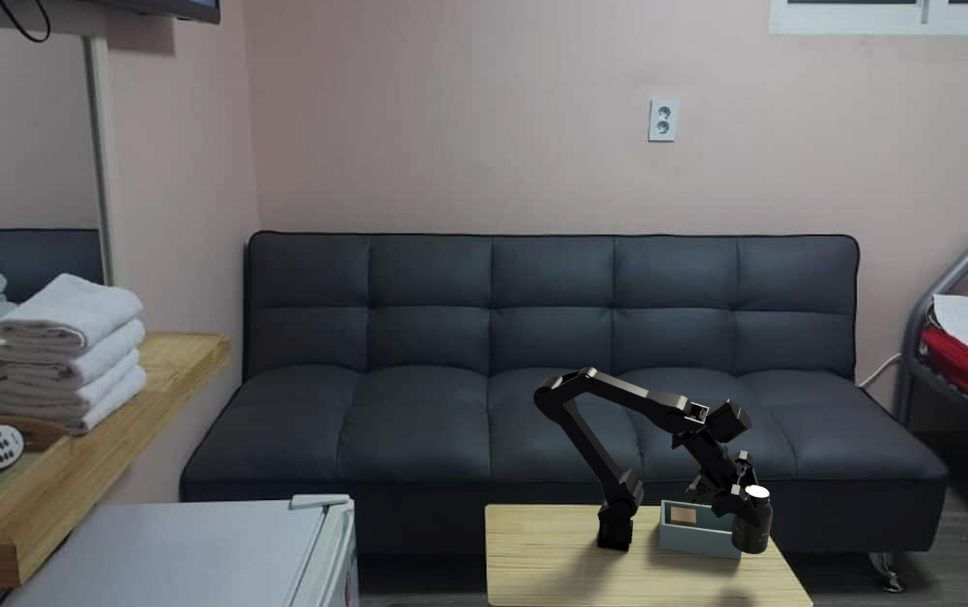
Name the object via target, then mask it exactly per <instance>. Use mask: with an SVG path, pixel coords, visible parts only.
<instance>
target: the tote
mask: <svg viewBox="0 0 968 607" xmlns="http://www.w3.org/2000/svg"><path fill="white" fill-rule="evenodd" d="M660 503H661V504H660V513H659V523H658V524H659V525H658V526H659V527H658V531H659V532H658V533H659V534H658V538H659V539H658V540H659V544H658V546H659V547H658V548H659V549H660V548H662V549H663V550H667V549H668V550H667V551H675V552H676V551H677V552H683V553H684V552H685V553H691V554H699V555H706V556H714V557H720V558H721V557H722V558H726V559H727V558H729V559H733V560H735V559H736V560H742V554H743V552H741V551H739V550H738V549H736V548H735V547H734V546H733V544H732V542H731V534H732V527H733V521H734V514H733V513H727V514H726V515H724V516H722V517H720V518H717V517H716V516H715V514H714V513H713V512H712V511H711V506H712V505H706V504H702V505H699V504H691V503H690V502H682V501H673V500H666V499H661V502H660ZM671 507H678V508H686V509H693V510H695V512H696V528H694V527H686V526H679V525H671V524H669V522H670V513H671Z"/></svg>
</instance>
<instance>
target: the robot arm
mask: <svg viewBox="0 0 968 607" xmlns="http://www.w3.org/2000/svg"><path fill="white" fill-rule="evenodd" d="M585 393H587V394H590V395H593V396H596V397H598V398H601V399H604V400H605V401H608V402H611V403H614V404H616V405H619V406H621V407H623V408H626V409H629V410H631V411H633V412H636V413H638V414H641V415H643V416H644V417H645V418H646V419H647V420H649V421H650V422H651V424H652V425H654V426H656V428H659V429H660V430H662V431H664V432H665V433H668V434H671V446H670V449H671V450H675V449H677V448H679V447H681V446H682V447H683V448H684V449H685V450H686V452H687V453H688V455H690V456H691V458H692V459H693V460H694V461H695V463H696V464H697V465H698V466H699V467H698V470H697V471H698V475H697V476H696V477H695V479H694V480H693V481H692V483H691V484H689V486H688V488H686V490H685V493H684V494H685V496H686V499H687V500H689V503H691V504H699V505H704V502H705V499H706V498H707V497H708V496H709V495H710V494H711V492H712V493H713V497H712V498H713V499H712V502H711V505H710V506H711V511H712V512H713V513H714V514H715V516H716V517H717V518H720V517H722V516H724V515H726V514H727V513H733V514H735V515H737V516H739V517H740V518H742V519H743V520H745V521H746V522H748V523H749V524H751V525H752V526H754V527H755V528H758V527H760V526H761V522H760V520H759V517H758V514H757V512H756V509H755V507H754V504H753V502H752V499H751V497H750V494H749V492H747V493H746V494H745V492H744V488H745V487H746V486H748V485H758V486H760V485H759V482H758V477H757V476H756V475H757V473H756V470H755V467H754V465H753V463H754V458H753V456H752V455H751V454H750V453H749V452H748V451H746V450H739V451H738V452H736V453H734V454H733V455H732V454H731V456H730V454H729V451H730V450H729V448H728V446H727V445H723V446H722V445H721V444H728V443H729V442H731V441H733V440H735V439H736V438H738V437H740V436H742V435H743V434H744V433H747V432H749V431H750V430H752V429H753V422H752V420H751V418H750V415H749V414H748V413H747V411H746V410H745V408H743V407H742V406H740V405H739V404H738V403H735V402H733V401H732V400H731V399H730V398H726V399H725V400H723V401H722V402H721V404H719V405H717V406H716V407H714V408H712V409H711V408H710V407H708V406H704V405H702V404H699V403H696V402H692V401H691V400H690V399H689V398H687V397H686V396H683V395H680V394H677V393H672V392H666V391H661V392H657V391H650V390H647V389H645V388H642V387H641V386H640V387H639V386H637V385H635V384H632V383H629V382H626V381H625V380H621V379H619V378H617V377H614V376H613V375H609V374H606V373H604V372H601V371H598V370H597V369H596V368H594V367H592V366H585V367H583V368H581V369H579V370H574V371H570V372H567V373H565V374H561V375H560V376H558V375H549V376H547V377H546V378H545V379H544V380H543V381H542V383H540V385H539V386H538V387H537V388H536V389H535V391H534V393H533V398H532V402H533V404H534V406H535V408H536V409H537V410H538V411H539V412H540V413H541V414H542V415H543V416H544V417H545V418H546V419H547V420H550V421H551V422H553V423H555V424H556V425H558V426H559V427H560V428H561V429H562V431H563V433H565V435H566V436H567V438H568V439H569V441H570V442H571V443H572V444H573V446H574V448H575V449H576V450H577V451H578V453H579V454H580V456H581V457H582V459H583V460H584V461H585V463H586V464H587V466H588V467H589V469H590V470H591V471H592V473H593V474H594V476H595V477H596V478H597V479H598V481H599V484H600V485H601V490H602V495H603V498H604V500H603V503H602V504H601V506H600V509H599V510H598V512H597V514H596V515H597V517H598V523H599V524H598V534H597V541H596V542H597V543H596V547H597V548H602V549H610V550H617V551H625V552H628V551H630V544H632V543H633V531H634V520H633V519H632V518H633V517H635V516H636V514H637V512H638V511H639V508H640V505H641V503H642V501H643V499H644V494H645V493H644V492H645V491H644V487H643V484H644V482H643V481H641V480H640V479H639V478H638V477H637V475H636V473H635V471H634V470H633V468H629V469H628V470H627V471H626V470H624V469H622V468H620V467H619V466H618V465H617V464H616V462H615V460H614V459H613V458H612V457H611V454H609V453H608V451H607V449H606V448H605V447H604V445H603V444H602V443H601V441H600V440H599V438H598V437H597V435H596V434H595V433H594V431H593V430H592V429H591V427H590V426H589V424H588V423H587V422H586V420H585V419H584V418H583V416H582V415H581V413H580V411H579V410H578V406H577V402H576V398H577V397H578V396H579V395H582V394H583V395H584V394H585ZM693 417H695V418H693ZM744 465H747V466H749V467H746V466H744ZM720 489H721V490H720ZM719 490H720V491H719Z"/></svg>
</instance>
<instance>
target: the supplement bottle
mask: <svg viewBox="0 0 968 607" xmlns="http://www.w3.org/2000/svg"><path fill="white" fill-rule="evenodd" d="M758 485H759V484H758ZM758 485H748V486H746V487H745V488H744V492H745V494H746V493H747V492H749V494H750V497H751V499H752V502H753V504H754V507H755V509H756V512H757V514H758V517H759V520H760V522H761V526H760V527H758V528H755V527H754V526H752V525H751V524H749V523H748V522H746V521H745V520H743V519H742V518H740V517H739V516H737V515H735V514H734V521H733V527H732V534H731V542H732V544H733V546H734V547H735V548H736V549H738V550H739V551H741V552H742V553H745V554H749V555H760V554H762V553H764V552H766V550H767V549H768V544H769V539H770V531H771V528H772V527H771V526H772V522H773V521H772V520H773V513H774V512H773V511H774V510H773V508H772V506H771V504H770V499H771V498H770V497H771V493H770V491H769V490H768V489H767V488H765V487H763V486H761V485H759V486H758Z"/></svg>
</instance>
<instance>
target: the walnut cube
mask: <svg viewBox="0 0 968 607" xmlns="http://www.w3.org/2000/svg"><path fill="white" fill-rule="evenodd" d="M669 524H671V525H679V526H686V527H694V528H696V512H695V510H693V509H686V508H678V507H671V513H670V522H669Z"/></svg>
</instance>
